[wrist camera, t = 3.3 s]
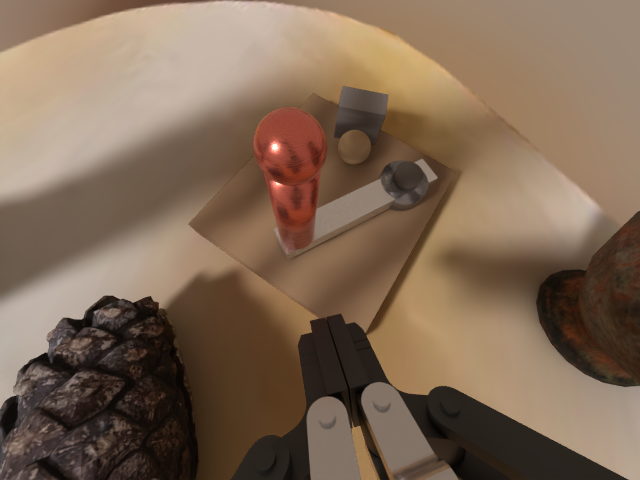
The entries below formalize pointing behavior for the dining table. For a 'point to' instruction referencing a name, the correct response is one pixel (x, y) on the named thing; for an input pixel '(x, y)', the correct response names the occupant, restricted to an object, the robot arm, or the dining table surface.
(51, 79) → the dining table surface
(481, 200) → the dining table surface
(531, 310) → the dining table surface
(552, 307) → the pitcher
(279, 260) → the base
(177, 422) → the pine cone
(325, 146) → the lever
